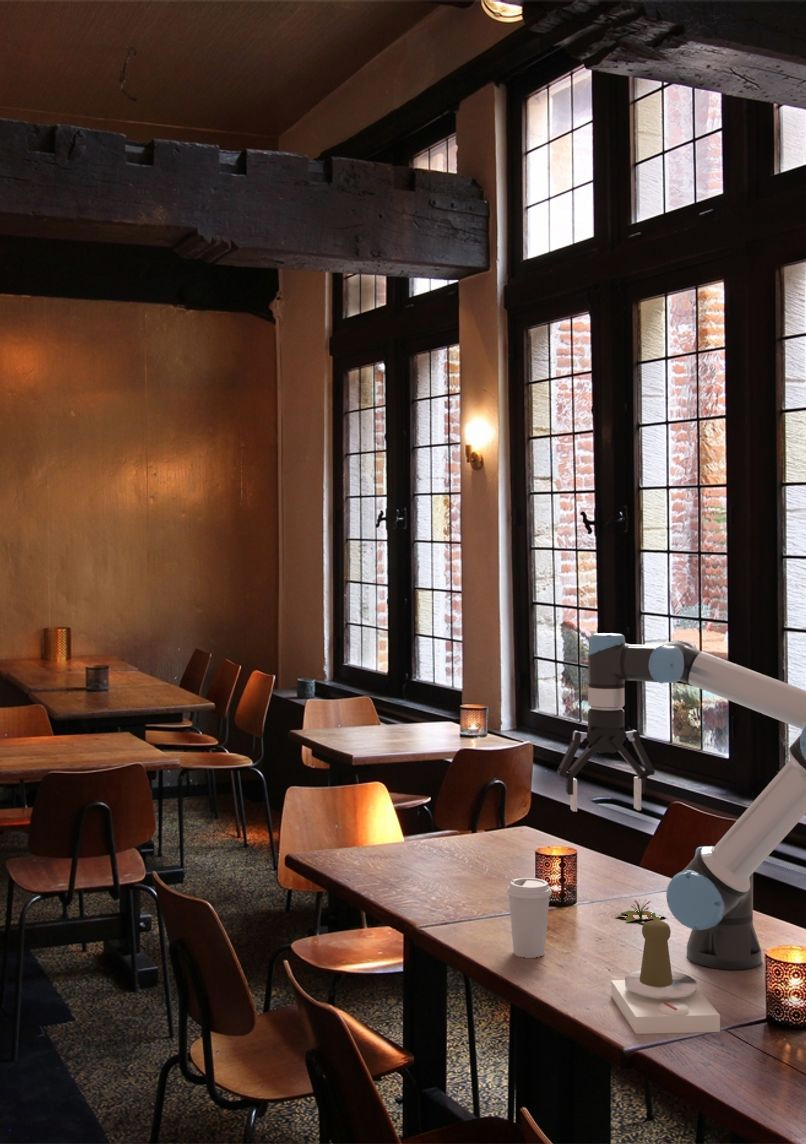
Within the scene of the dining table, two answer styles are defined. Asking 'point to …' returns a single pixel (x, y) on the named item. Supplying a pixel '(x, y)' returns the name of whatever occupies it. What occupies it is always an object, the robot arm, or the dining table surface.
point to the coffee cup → (529, 915)
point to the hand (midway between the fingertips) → (605, 809)
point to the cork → (656, 955)
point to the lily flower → (639, 913)
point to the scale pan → (677, 990)
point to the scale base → (665, 1012)
